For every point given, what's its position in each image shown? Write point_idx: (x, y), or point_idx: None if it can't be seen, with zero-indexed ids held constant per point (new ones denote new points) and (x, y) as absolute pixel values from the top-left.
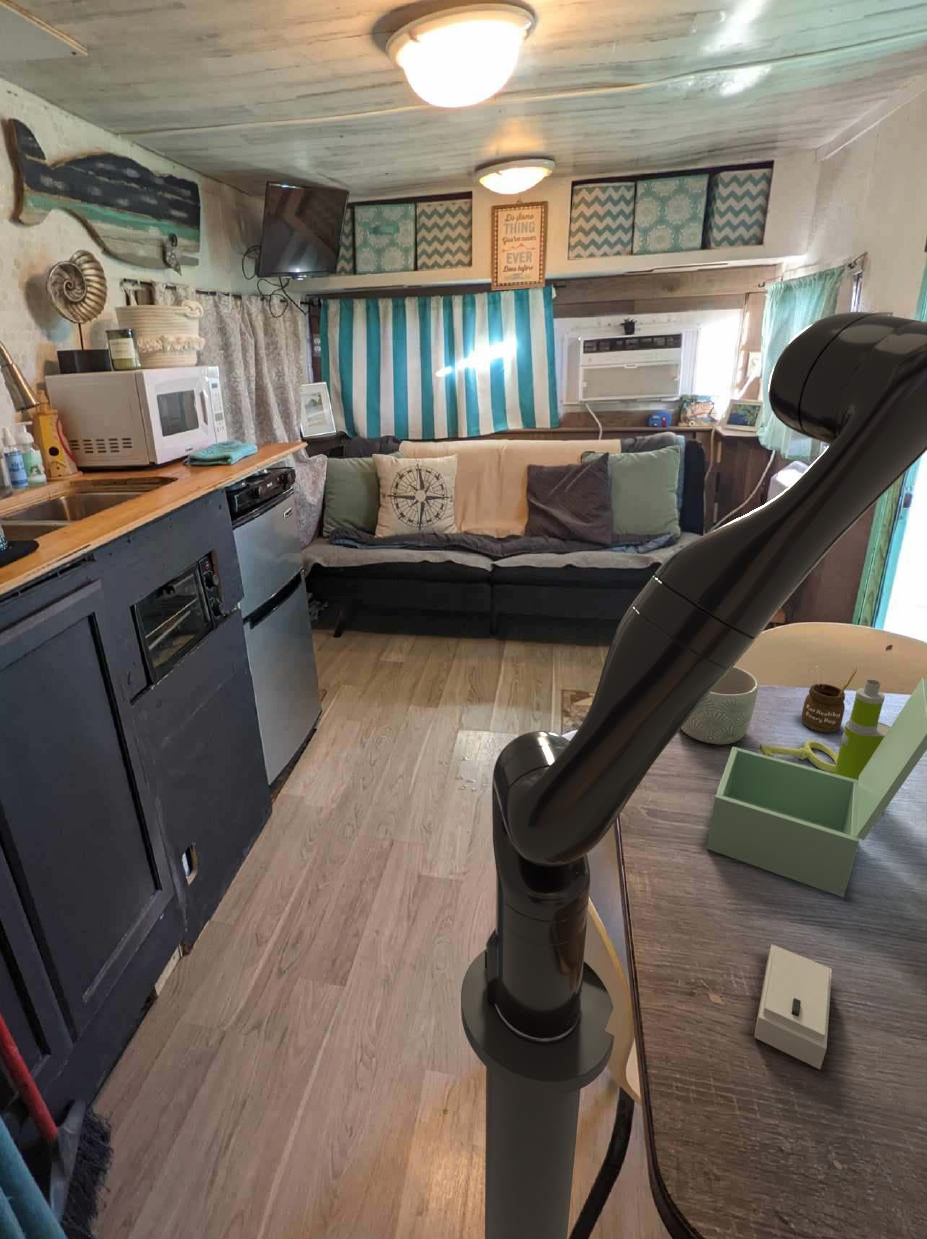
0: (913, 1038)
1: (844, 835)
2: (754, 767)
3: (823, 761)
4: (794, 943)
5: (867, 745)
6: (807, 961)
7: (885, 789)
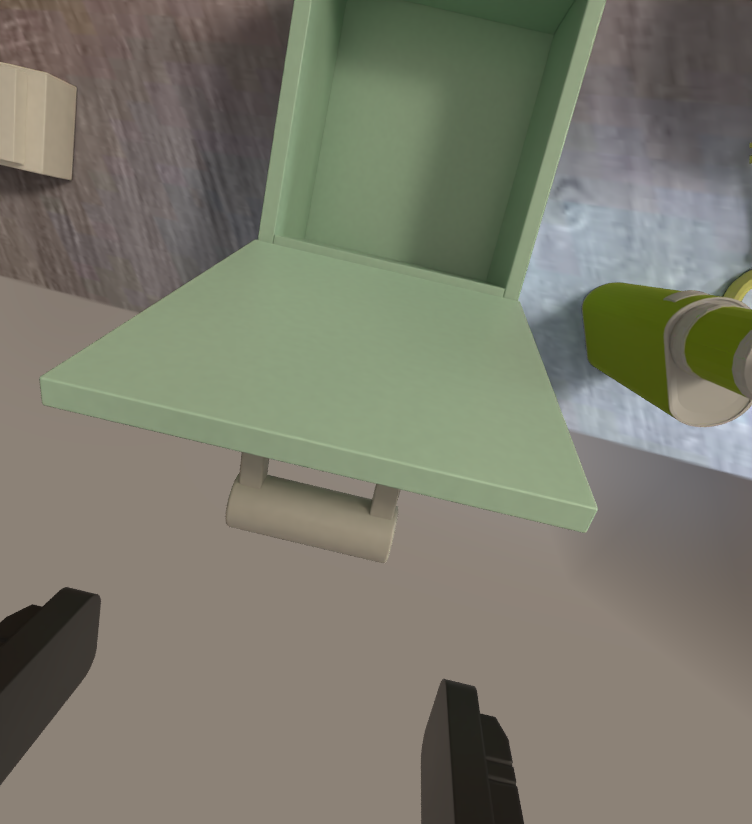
0: (45, 285)
1: (266, 219)
2: (567, 46)
3: (747, 289)
4: (145, 142)
5: (649, 346)
6: (8, 124)
7: (219, 280)
